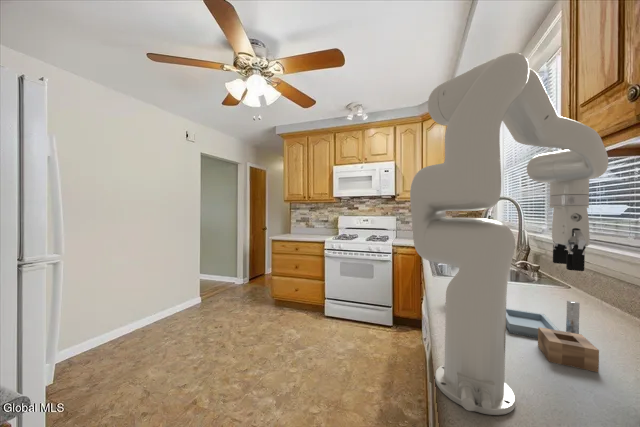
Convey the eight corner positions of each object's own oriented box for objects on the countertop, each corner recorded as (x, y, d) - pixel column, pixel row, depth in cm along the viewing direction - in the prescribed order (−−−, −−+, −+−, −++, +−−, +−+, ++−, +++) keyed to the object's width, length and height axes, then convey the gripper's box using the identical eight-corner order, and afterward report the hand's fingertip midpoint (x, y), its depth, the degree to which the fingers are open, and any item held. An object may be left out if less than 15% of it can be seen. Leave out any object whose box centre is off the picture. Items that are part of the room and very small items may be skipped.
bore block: (598, 372, 54) (599, 350, 54) (548, 361, 57) (549, 341, 57) (580, 353, 61) (581, 334, 61) (537, 345, 64) (538, 327, 64)
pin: (580, 343, 66) (581, 304, 66) (568, 341, 67) (568, 302, 67) (576, 339, 68) (577, 301, 68) (564, 337, 69) (565, 300, 69)
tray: (561, 342, 66) (561, 332, 66) (509, 332, 71) (509, 323, 71) (543, 322, 79) (544, 314, 79) (500, 315, 84) (500, 307, 84)
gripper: (605, 201, 59) (604, 275, 59) (573, 203, 75) (572, 262, 75) (562, 201, 63) (561, 271, 63) (540, 203, 78) (539, 260, 78)
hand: (567, 266), depth 69 cm, fingers open, 9 cm apart
